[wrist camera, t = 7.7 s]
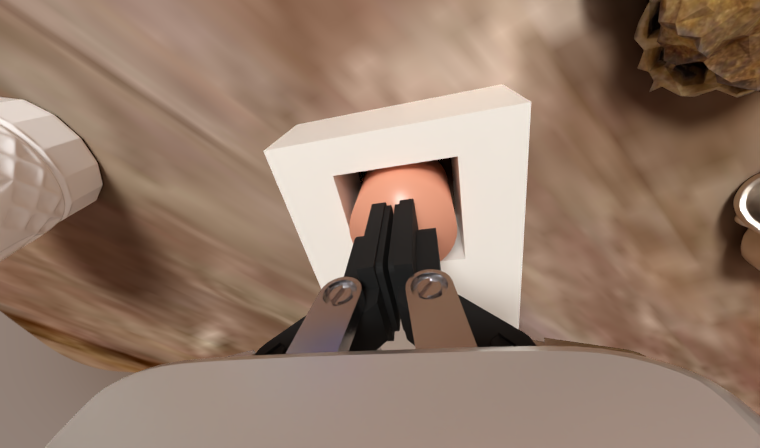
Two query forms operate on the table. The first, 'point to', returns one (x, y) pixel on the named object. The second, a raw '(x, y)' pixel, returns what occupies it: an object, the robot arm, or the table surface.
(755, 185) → the ornament
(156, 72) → the table surface
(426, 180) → the terracotta button
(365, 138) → the button box
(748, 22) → the decorative rock
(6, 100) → the white cup
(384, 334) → the robot arm
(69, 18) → the table surface
